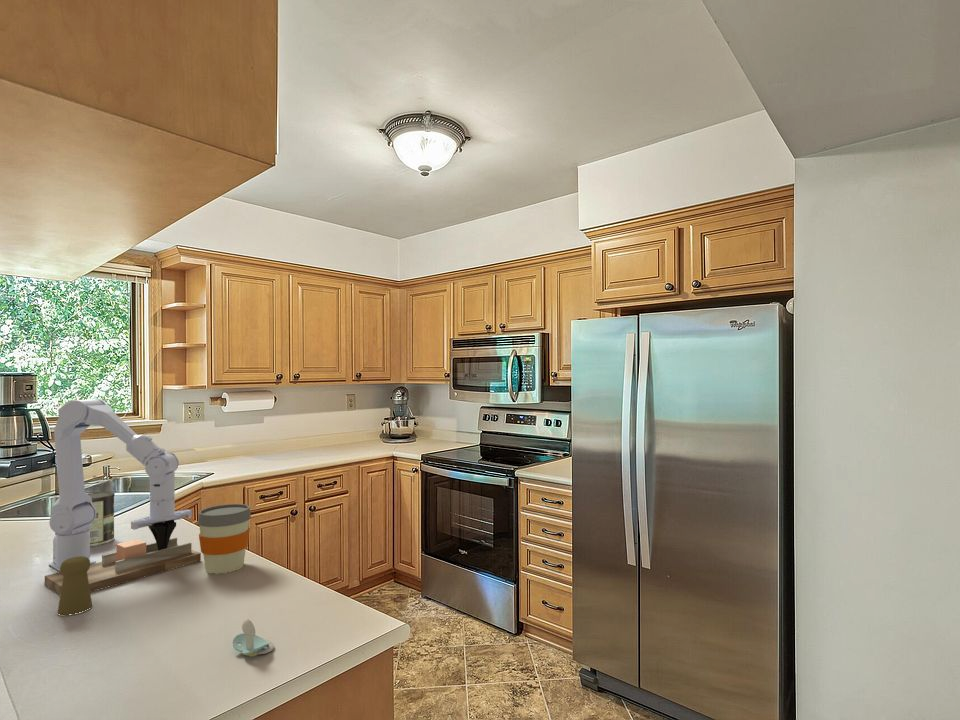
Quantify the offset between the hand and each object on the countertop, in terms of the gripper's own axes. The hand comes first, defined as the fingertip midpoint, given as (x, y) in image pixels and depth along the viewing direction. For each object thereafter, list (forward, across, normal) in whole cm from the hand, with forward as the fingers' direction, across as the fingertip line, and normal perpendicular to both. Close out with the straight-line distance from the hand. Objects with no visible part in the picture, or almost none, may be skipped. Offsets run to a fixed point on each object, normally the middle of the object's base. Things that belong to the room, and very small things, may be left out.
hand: (162, 550), depth 146 cm
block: (+1, -8, 0) cm, 8 cm away
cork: (+3, -24, -16) cm, 29 cm away
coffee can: (+3, -4, +37) cm, 37 cm away
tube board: (+3, -8, 0) cm, 9 cm away
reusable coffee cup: (+3, +8, -18) cm, 20 cm away
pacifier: (+4, -12, -64) cm, 65 cm away
